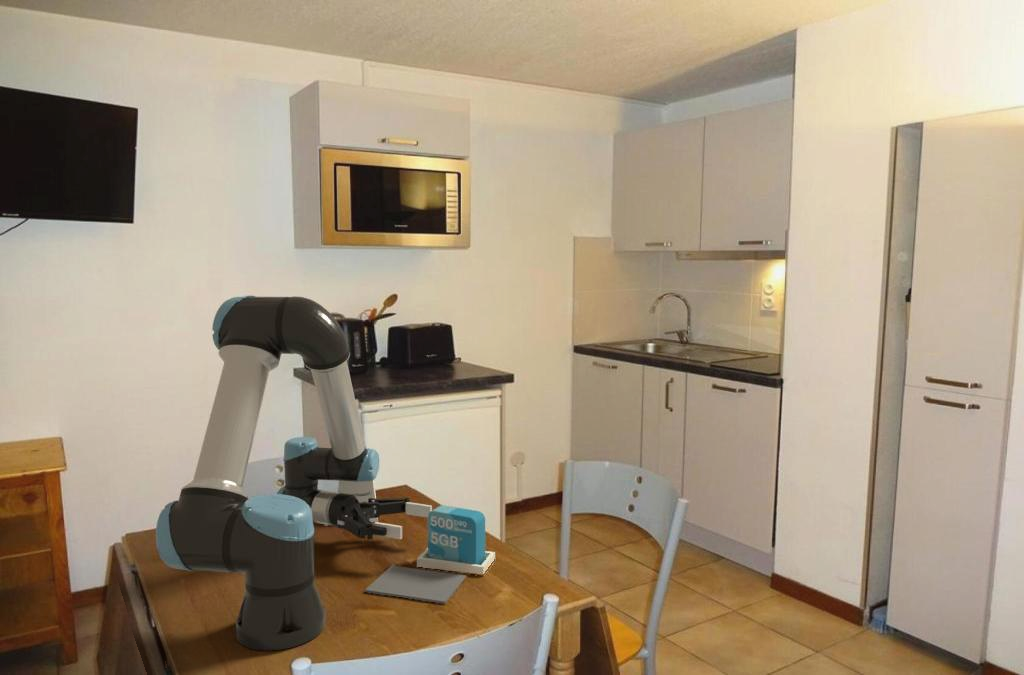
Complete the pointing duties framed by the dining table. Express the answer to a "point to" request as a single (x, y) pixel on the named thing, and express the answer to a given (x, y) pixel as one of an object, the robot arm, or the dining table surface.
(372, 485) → the grater
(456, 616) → the dining table surface
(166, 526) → the robot arm
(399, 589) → the mat
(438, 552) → the blue rounded block
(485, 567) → the cradle
